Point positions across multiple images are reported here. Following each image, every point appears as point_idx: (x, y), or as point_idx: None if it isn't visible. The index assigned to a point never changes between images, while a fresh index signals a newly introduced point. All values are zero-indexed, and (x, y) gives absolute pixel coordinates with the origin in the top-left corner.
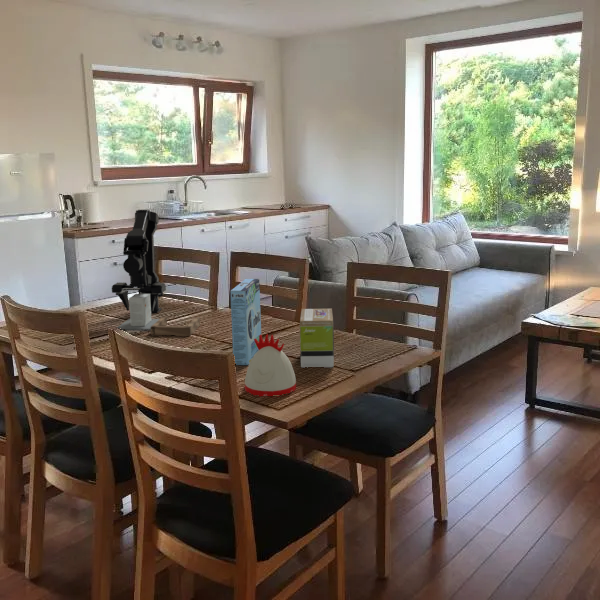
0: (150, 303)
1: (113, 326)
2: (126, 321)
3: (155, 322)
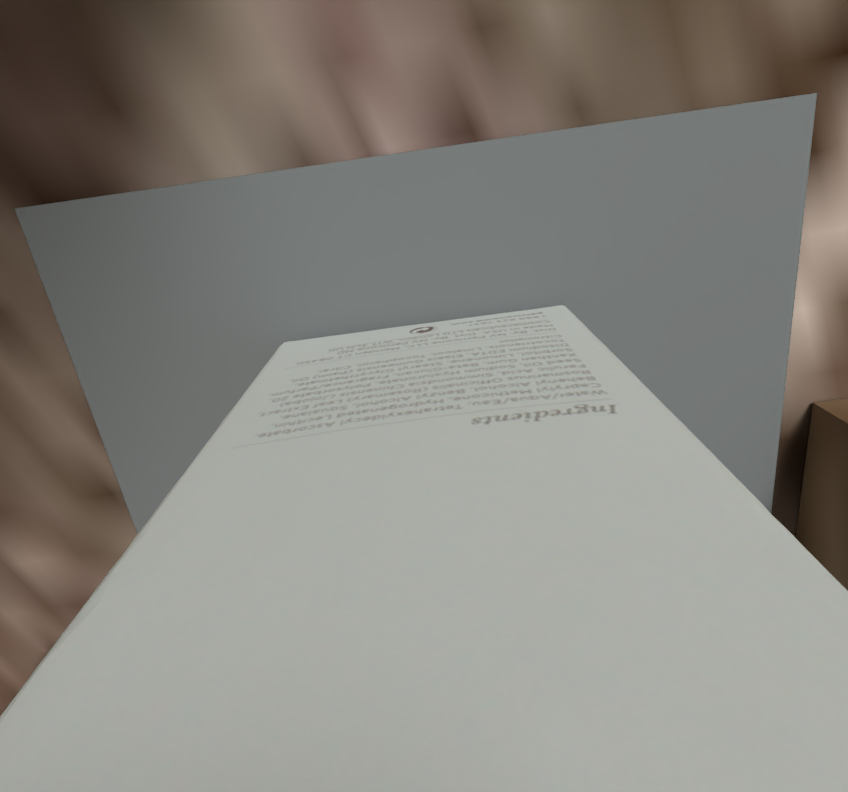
0: (763, 516)
1: (73, 607)
2: (117, 423)
3: (678, 395)
